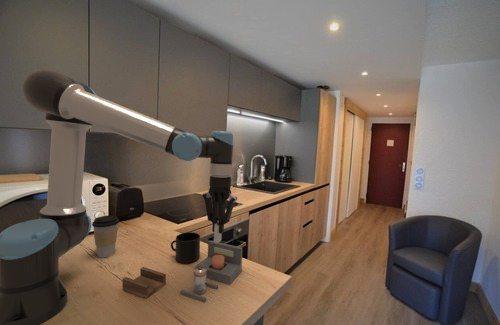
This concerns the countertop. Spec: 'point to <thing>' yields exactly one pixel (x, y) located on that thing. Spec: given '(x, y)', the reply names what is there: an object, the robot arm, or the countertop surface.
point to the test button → (218, 262)
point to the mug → (187, 247)
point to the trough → (144, 282)
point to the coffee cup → (105, 235)
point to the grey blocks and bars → (227, 273)
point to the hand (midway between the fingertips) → (217, 241)
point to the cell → (199, 280)
